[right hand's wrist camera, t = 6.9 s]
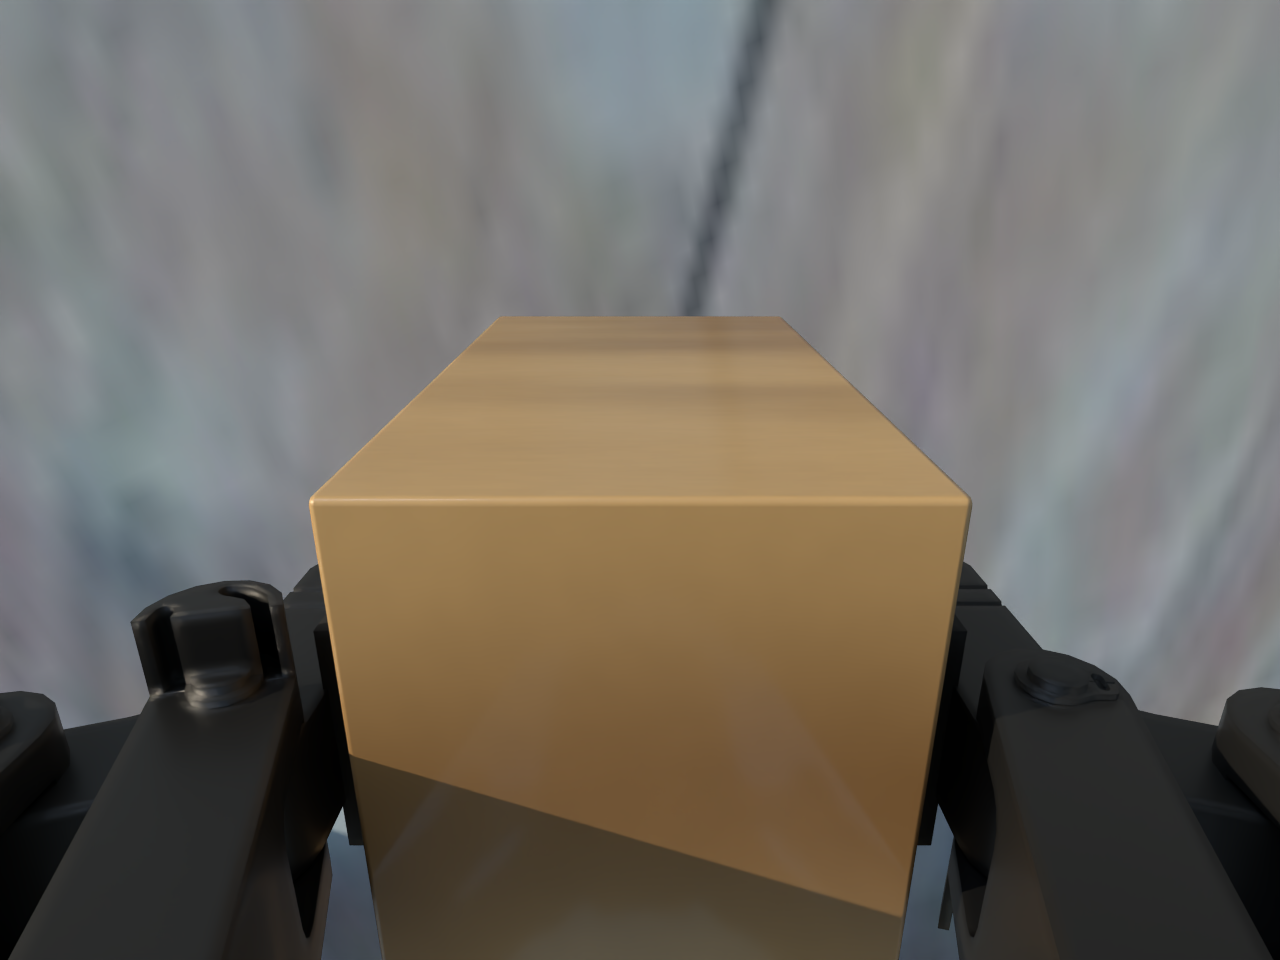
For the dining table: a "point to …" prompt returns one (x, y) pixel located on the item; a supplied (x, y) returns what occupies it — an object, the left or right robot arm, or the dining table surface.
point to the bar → (640, 647)
